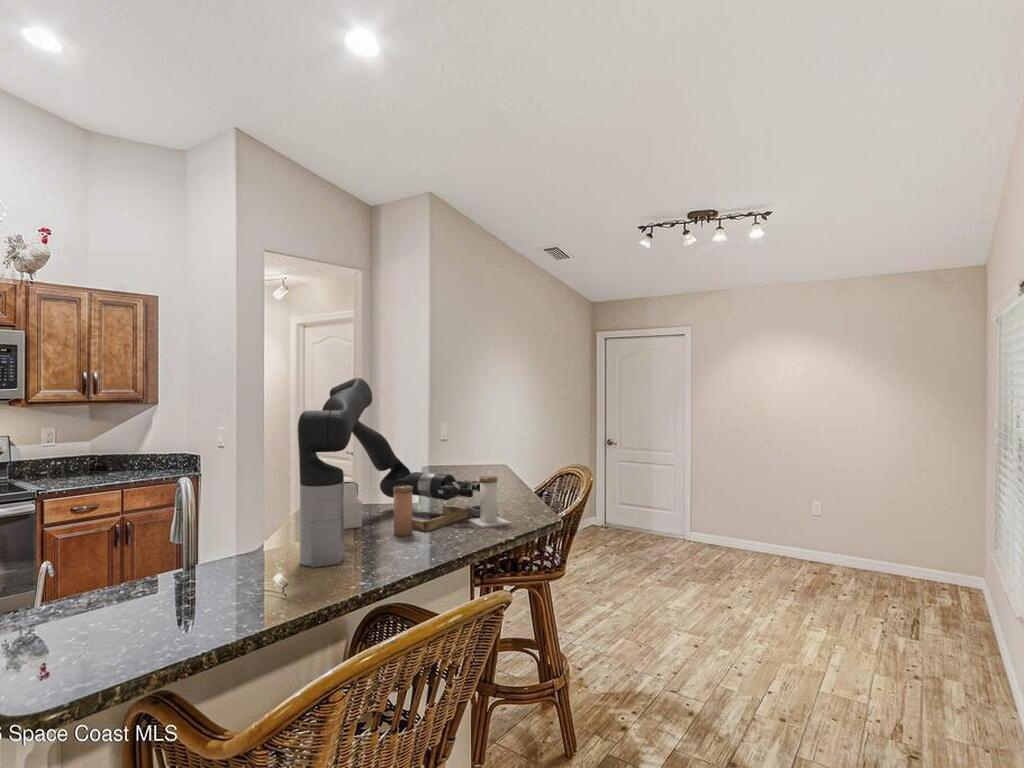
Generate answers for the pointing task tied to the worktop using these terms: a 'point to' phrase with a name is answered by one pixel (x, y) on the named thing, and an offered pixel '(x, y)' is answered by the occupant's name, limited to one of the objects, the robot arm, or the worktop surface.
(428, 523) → the wooden tray
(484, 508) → the spice jar
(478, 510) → the hole dish
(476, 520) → the white square tile
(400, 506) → the terracotta jar
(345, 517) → the medicine bottle
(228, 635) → the worktop surface
